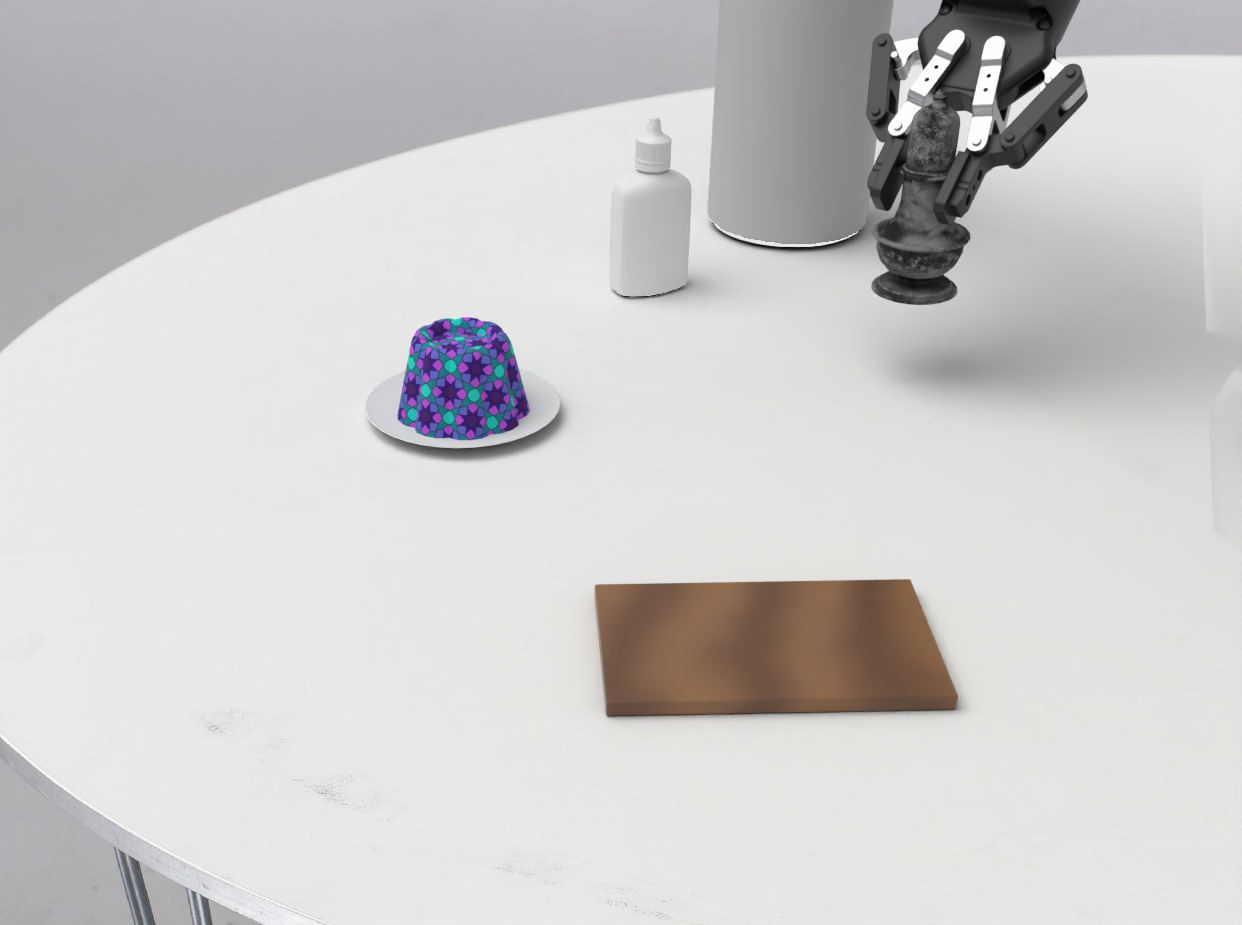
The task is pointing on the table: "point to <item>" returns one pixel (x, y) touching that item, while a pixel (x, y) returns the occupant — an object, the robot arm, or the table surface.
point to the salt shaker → (922, 216)
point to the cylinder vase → (793, 118)
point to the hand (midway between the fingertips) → (910, 209)
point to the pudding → (462, 390)
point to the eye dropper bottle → (650, 221)
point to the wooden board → (768, 648)
